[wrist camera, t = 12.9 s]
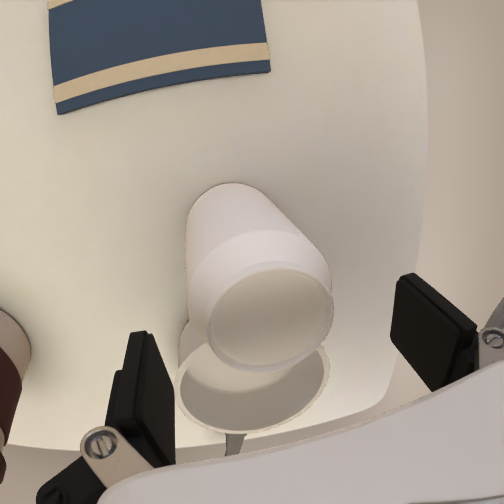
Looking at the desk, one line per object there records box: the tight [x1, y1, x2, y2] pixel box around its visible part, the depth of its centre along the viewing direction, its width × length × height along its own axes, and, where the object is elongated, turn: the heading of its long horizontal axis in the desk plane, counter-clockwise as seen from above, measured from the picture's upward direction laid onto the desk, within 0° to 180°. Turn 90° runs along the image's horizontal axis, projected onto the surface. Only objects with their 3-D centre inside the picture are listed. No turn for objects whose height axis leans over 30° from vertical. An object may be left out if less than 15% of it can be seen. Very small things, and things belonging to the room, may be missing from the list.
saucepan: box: [173, 320, 330, 457], centre depth 26 cm, size 12×20×6 cm, turn 169°
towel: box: [48, 0, 271, 115], centre depth 16 cm, size 14×10×1 cm
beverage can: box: [186, 183, 334, 373], centre depth 17 cm, size 6×6×12 cm
